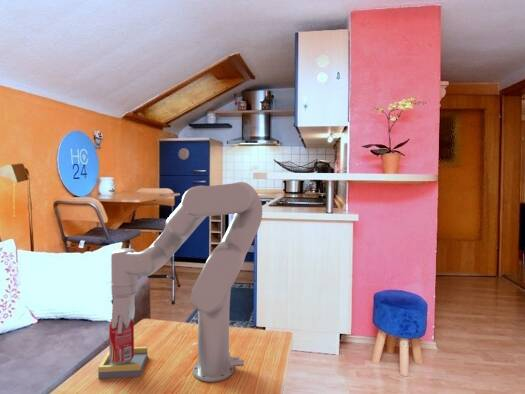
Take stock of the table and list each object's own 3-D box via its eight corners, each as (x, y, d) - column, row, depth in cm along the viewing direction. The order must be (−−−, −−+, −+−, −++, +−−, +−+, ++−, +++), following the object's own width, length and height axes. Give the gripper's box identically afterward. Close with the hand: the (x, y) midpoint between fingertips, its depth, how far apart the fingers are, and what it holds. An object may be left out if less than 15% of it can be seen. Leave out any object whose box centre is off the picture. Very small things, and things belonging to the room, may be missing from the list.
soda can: (138, 358, 117) (138, 316, 117) (120, 367, 111) (120, 323, 111) (123, 354, 121) (123, 314, 121) (104, 362, 114) (104, 319, 115)
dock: (147, 356, 125) (147, 346, 125) (140, 376, 113) (139, 365, 113) (110, 358, 123) (109, 348, 123) (98, 378, 112) (98, 367, 111)
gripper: (118, 281, 124) (119, 335, 125) (104, 297, 108) (104, 359, 110) (142, 281, 125) (142, 334, 126) (131, 297, 109) (131, 358, 110)
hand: (124, 345), depth 118 cm, fingers closed on soda can
